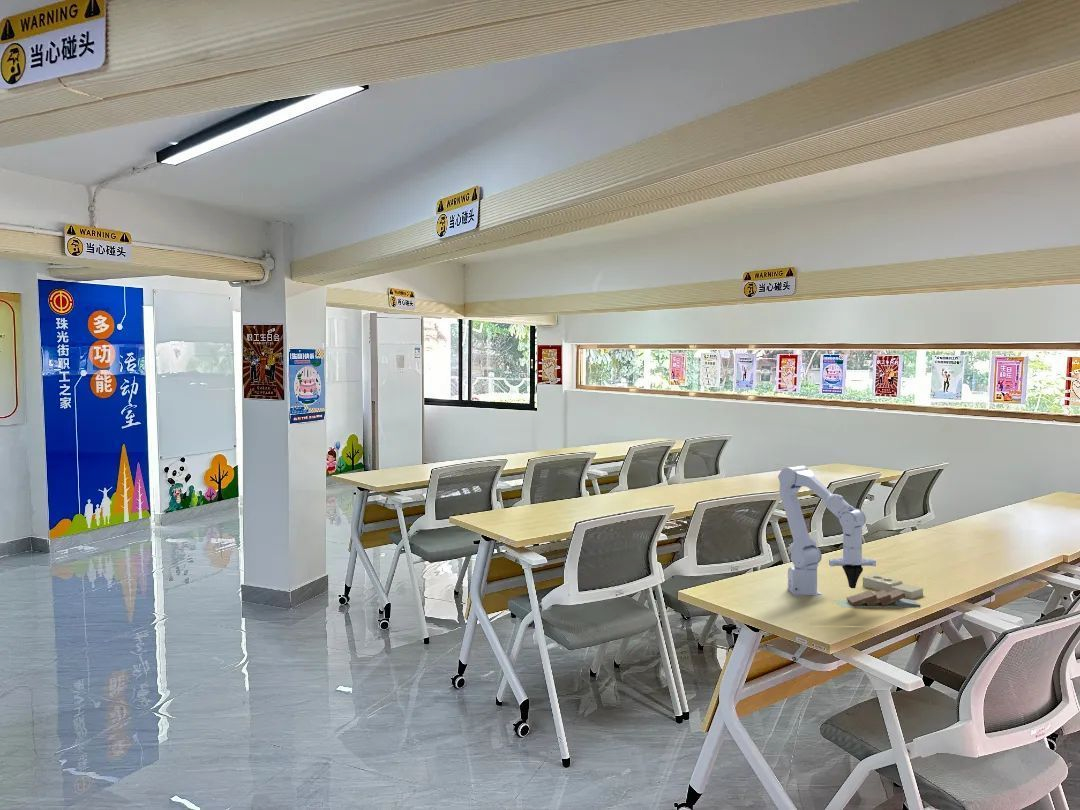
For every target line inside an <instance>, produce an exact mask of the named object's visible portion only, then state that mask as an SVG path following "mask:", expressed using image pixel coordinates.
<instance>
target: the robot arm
mask: <svg viewBox="0 0 1080 810" xmlns="http://www.w3.org/2000/svg"><path fill="white" fill-rule="evenodd" d="M777 478H778V482H779V490H778V491H779V495H780V499H781V502H782V506H783V509H784V513H785V516H786V519H787V523H788V527H789V530H790V534H791V537H792V540H793V542H792V544H791V545H790V548H789V549H790V553H791V554H790V560H791V562H792V564H793V565H794V566H789V567H788V568H787V587H786V589H787V590H788V591H789V592H790V593H791V594H792V595H793V596H821V595H822V592H820V591H819V590H818V567H819V563H821V561H822V557H823V556H822V551H821V549H820V548H818V546H817V543H816V541H815V540H814V539H812V538H811V537H810V535H809V530H808V527H807V524H806V521H805V518H804V514H803V511H802V507H801V504H800V502H799V498H798V493H799V491H800V489H801V488H802V487H805V488H808V489H809V490H811V492H812V493H814V494H815V495H816V496H818V497H819V498H820V499H821V500H823V501H824V506H825V508H827V510H829V511H830V512H831V513H832V514H833V515H834V516H835V517H836V518H837V519H838V520H839V524H840V526H841V527H842V532H843V533H842V544H843V545H842V557H839V558H832V559H831V558H828V565H829V566H830V567H842V569H843V571H844V573H845V576H846V579H847V583H848V587H849V588H850V589H856V588H857V584H858V580H859V577H860V575H862V572H863V571H864V566H865V567H876V566H877V560H876V559H874V558H863V526H864V525H865V524H866V519H867V517H866V515H865V513H864V512H863V510H861V509H859V508H855V507H854V506H853V505H850V504H849V503H848V502H847V501H846V500H845V499H844V496H842V495H841V494H838V493H833V492H831V491H830V490H829V489H828V488H827V487H826V486H825V485H824V484H823V483H822V482H821V481H820V480H819V479H818V478H817V477H816V476H815V474H814V472H813V471H812V470H811V469H809V467H807V466H806V465H801V464H800V465H797V466H791V467H786V466H785V467H783V468H782V469H781V470H780V472H779V473H778V475H777Z"/></svg>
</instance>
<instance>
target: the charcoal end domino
mask: <svg viewBox="0 0 1080 810" xmlns="http://www.w3.org/2000/svg"><path fill="white" fill-rule="evenodd" d="M893 604H895V605H897V606H903V607H902V608H906V607H908V608H909V607H911V608H912V607H913V608H915V607H920V606H921V605H922V604H920V603H919V602H918V601H915V600H914V599H908V598H902V599H900V600H897V601H895V602H893ZM920 608H921V607H920Z"/></svg>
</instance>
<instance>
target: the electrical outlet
mask: <svg viewBox="0 0 1080 810" xmlns="http://www.w3.org/2000/svg"><path fill="white" fill-rule="evenodd" d="M862 587H863V588H868V589H870V590H876V591H877V592H879V591H881V590H885V591H886V592H887V593H888V592H890V591H892V590H895V589H897V588H898V589H899V590H901V591H902V592H904V594H905V596H906V597H904V599H909V600H914V599H917V598H919V597H922V595H923V596H924V588H923V587H919V586H916V585H912V584H911V585H910V584H907V583H903V581H902V580H901V579H896V578H893V577H890V576H889V577H887V576H885V575H881V574H876V573H873V574H869V575H865V576H863V577H862Z"/></svg>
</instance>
